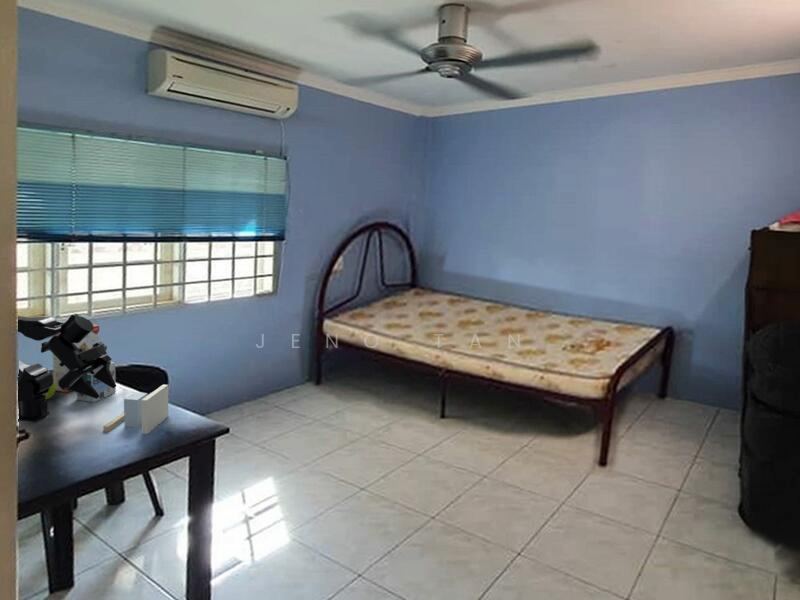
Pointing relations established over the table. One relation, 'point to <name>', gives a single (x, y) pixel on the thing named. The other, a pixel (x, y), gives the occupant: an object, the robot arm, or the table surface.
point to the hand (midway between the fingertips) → (106, 392)
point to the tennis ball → (50, 392)
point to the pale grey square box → (133, 409)
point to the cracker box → (85, 343)
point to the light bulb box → (99, 386)
